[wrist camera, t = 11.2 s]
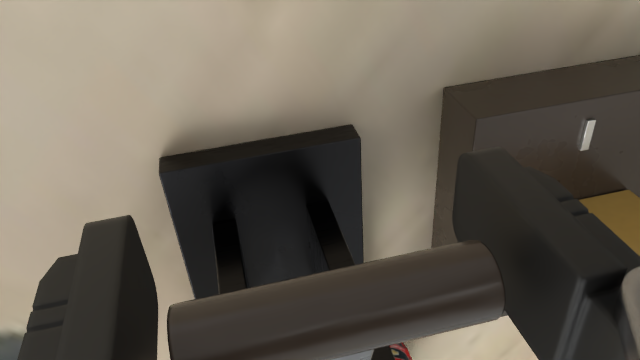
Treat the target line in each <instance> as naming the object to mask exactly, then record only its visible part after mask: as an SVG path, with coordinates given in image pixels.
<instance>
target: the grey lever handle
mask: <svg viewBox="0 0 640 360" xmlns="http://www.w3.org/2000/svg"><path fill="white" fill-rule="evenodd" d="M505 303H506V295H505V287H504V282H503V278H502V274H501V271H500V269H499V266H498V264H497V261H496V259H495V258H494V256H493V254H492V252H491V251H490V250H489V248H488V247H487V246H486V245H485V244H484V243H482V242H481V241H479V240H468V241H463V242H459V243H454V244H449V245H445V246H440V247H435V248H431V249H426V250H422V251H417V252H412V253H408V254H403V255H398V256H394V257H389V258H384V259H380V260H375V261H371V262H366V263H361V264H357V265H352V266H347V267H343V268H338V269H333V270H329V271H324V272H320V273H315V274H310V275H306V276H301V277H296V278H292V279H287V280H282V281H278V282H273V283H268V284H264V285H259V286H255V287H250V288H245V289H241V290H236V291H231V292H227V293H222V294H217V295H213V296H208V297H203V298H199V299H194V300H190V301H185V302H180V303H176V304H173V305H171V306H170V307H169V310H168V315H167V334H168V345H169V352H170V358H171V360H371V358H372V355H373V352H374V349H378V348H382V347H386V346H390V345H394V344H398V343H403V342H407V341H411V340H415V339H419V338H423V337H427V336H431V335H436V334H440V333H444V332H448V331H452V330H456V329H460V328H464V327H469V326H473V325H477V324H481V323H485V322H489V321H493V320H497V319H498V318H500V317H501V316H502V314H503V312H504V309H505Z"/></svg>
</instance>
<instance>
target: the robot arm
mask: <svg viewBox="0 0 640 360" xmlns="http://www.w3.org/2000/svg"><path fill="white" fill-rule="evenodd" d="M452 222H453V229H454V233H455V236H456V238H457V241H458V243H459V242H463V241H468V240H479V241H481V242H482V243H484V244H485V245H486V246H487V247H488V248H489V250H490V251H491V252H492V254H493V256H494V258H495V259H496V261H497V264H498V266H499V269H500V271H501V274H502V278H503V282H504V287H505V295H506V303H505V309H504V310H505V311H506V313H507V314H508V316H509V317H510V319H511V320H512V322H513V323H514V325H515V326H516V327H517V329H518V330H519V332H520V333H521V335H522V336H523V338H524V339H525V340H526V342H527V343H528V345H529V346H530V348H531V349H532V351H533V352H534V353H535V355H536V356H537V358H538V359H539V360H640V256H639V255H638V254H637V253H636V252H635V251H633V250H632V249H631V248H630V247H629V246H628V245H627V244H626V243H625V242H624V241H623V240H621V239H620V238H619V237H618V236H617V235H616V234H615V233H614V232H613V231H612V230H611V229H609V228H608V227H607V226H606V225H605V224H604V223H603V222H602V221H601V220H600V219H599V218H598V217H596V216H595V215H594V214H593V213H589V211H588V208H587V207H586V206H584V205H583V204H582V203H581V202H580V201H579V200H578V199H574V198H573V195H572V194H571V193H570V192H569V191H568V190H567V189H566V188H565V187H564V186H563V185H562V184H560V183H559V182H558V181H557V180H556V179H555V178H553V177H551V176H549V175H547V174H545V173H543V172H541V171H539V170H536V169H534V168H532V167H530V166H529V167H523V166H522V165H521V164H520V163H519V162H518V161H517V160H515V159H514V158H513V157H512V156H511V155H510V154H509V153H508V152H507V151H506V150H505V149H504V148H502V147H494V148H488V149H483V150H478V151H473V152H467V153H463V154H461V155H460V157H459V159H458V164H457V172H456V182H455V192H454V202H453V212H452ZM157 336H158V300H157V292H156V287H155V282H154V278H153V275H152V272H151V269H150V266H149V263H148V260H147V257H146V254H145V251H144V249H143V246H142V243H141V240H140V237H139V234H138V231H137V228H136V225H135V222H134V220H133V218H132V217H131V216H130V215H127V216H122V217H116V218H111V219H106V220H100V221H95V222H90V223H86V224H85V226H84V229H83V233H82V238H81V242H80V247H79V252H78V254H75V255H70V256H65V257H60V258H58V259H57V260H56V262H55V263H54V264H53V265H52V267H51V268H50V269H49V270H48V272H47V273H46V274H45V276H44V277H43V278H42V279H41V281H40V282H39V286H38V289H37V293H36V296H35V300H34V303H33V312H31V314H30V317H29V321H28V324H27V333H25V335H24V338H23V342H22V345H21V349H20V352H19V356H18V359H17V360H157Z"/></svg>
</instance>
